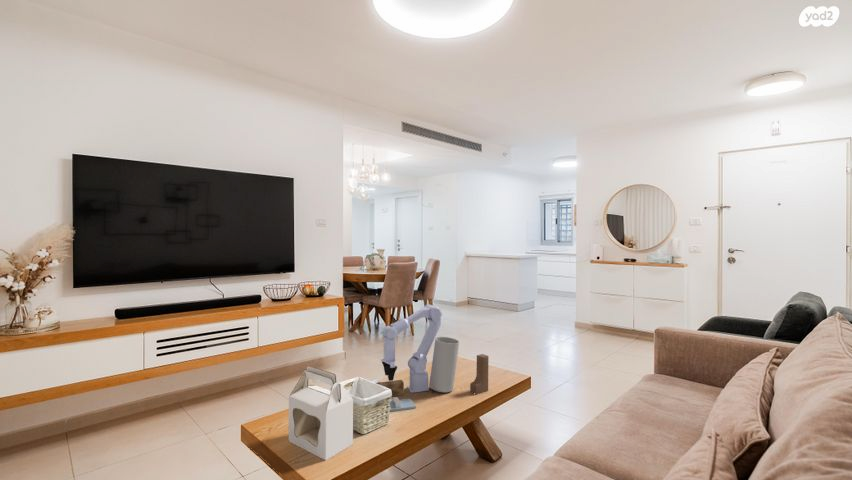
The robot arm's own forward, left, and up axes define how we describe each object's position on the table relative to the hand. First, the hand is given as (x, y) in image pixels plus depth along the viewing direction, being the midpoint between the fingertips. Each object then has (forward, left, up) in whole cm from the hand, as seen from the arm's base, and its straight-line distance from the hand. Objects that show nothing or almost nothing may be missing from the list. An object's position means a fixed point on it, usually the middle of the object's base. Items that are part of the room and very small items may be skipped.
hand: (389, 377), depth 195 cm
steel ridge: (0, +15, -8) cm, 17 cm away
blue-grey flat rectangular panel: (0, +15, -8) cm, 17 cm away
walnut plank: (0, 0, -8) cm, 9 cm away
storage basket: (+18, +24, -9) cm, 31 cm away
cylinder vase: (-27, +2, -8) cm, 28 cm away
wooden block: (-45, +10, -8) cm, 47 cm away
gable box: (+35, +37, -9) cm, 52 cm away
